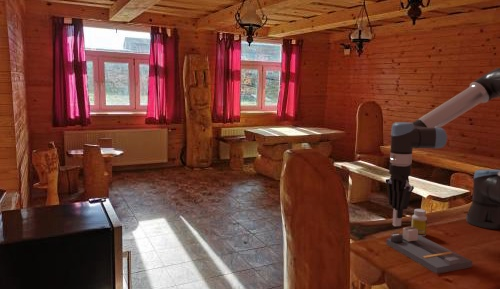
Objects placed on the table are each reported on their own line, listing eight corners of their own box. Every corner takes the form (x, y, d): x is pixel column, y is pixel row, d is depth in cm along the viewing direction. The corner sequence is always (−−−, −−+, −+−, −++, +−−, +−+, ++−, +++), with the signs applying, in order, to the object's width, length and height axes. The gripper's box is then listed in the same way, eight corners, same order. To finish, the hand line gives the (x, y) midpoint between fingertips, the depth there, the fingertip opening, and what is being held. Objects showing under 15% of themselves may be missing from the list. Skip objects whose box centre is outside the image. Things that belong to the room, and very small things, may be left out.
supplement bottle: (427, 237, 145) (429, 212, 144) (412, 236, 146) (414, 212, 145) (424, 232, 150) (425, 208, 149) (409, 231, 151) (411, 207, 150)
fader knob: (412, 237, 139) (412, 225, 138) (417, 240, 136) (418, 228, 136) (402, 238, 138) (402, 227, 137) (407, 241, 135) (408, 230, 134)
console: (417, 239, 143) (418, 227, 142) (471, 267, 120) (472, 253, 120) (386, 244, 139) (386, 232, 138) (436, 273, 116) (437, 259, 116)
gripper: (380, 161, 145) (377, 220, 148) (404, 168, 132) (400, 232, 136) (397, 160, 147) (393, 218, 150) (421, 166, 135) (417, 230, 138)
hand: (396, 225), depth 143 cm, fingers closed
